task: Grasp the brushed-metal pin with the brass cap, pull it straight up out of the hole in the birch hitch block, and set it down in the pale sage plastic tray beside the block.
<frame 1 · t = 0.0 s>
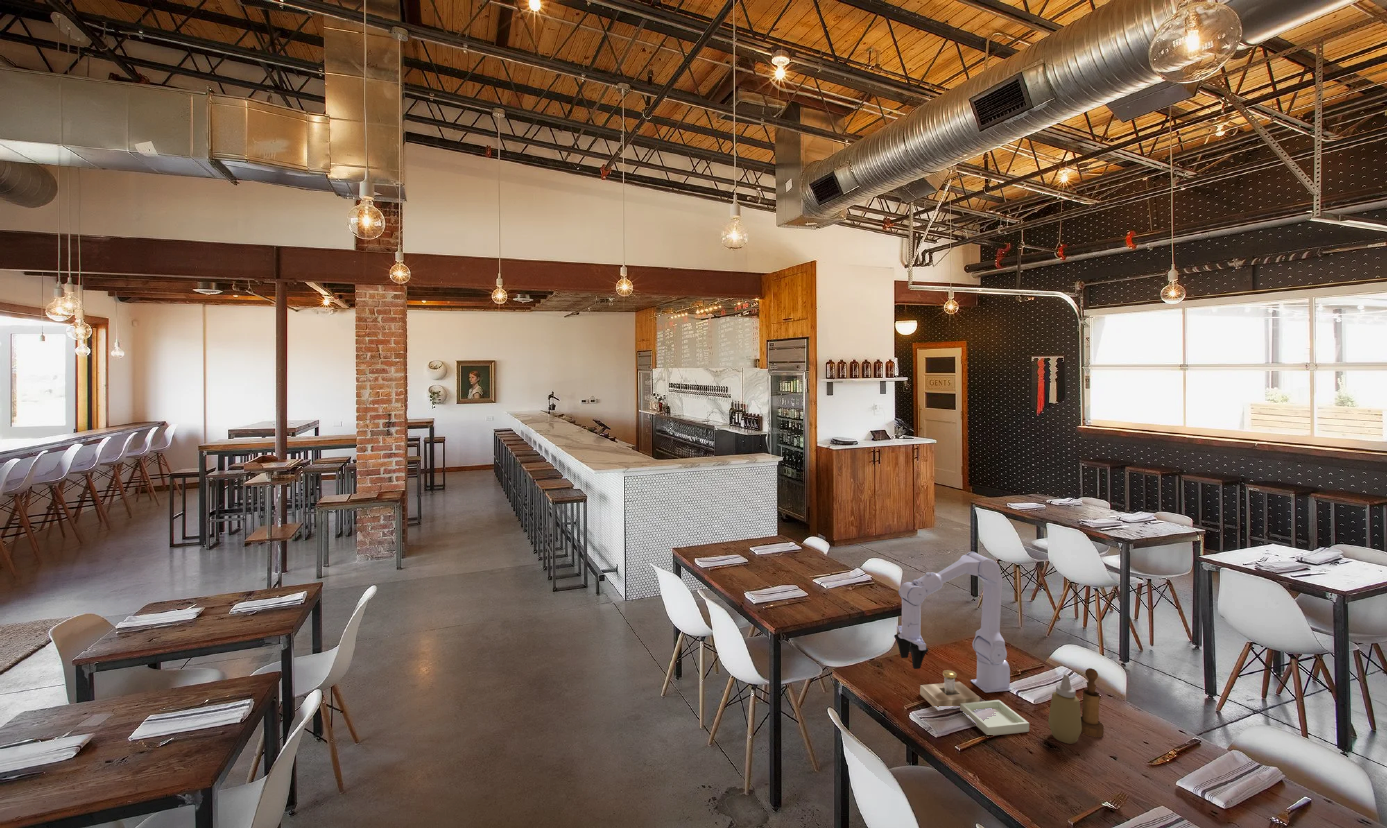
hand: (910, 662, 193), 10 cm above the table, fingers open, 7 cm apart
wooden pepper mill: (1089, 731, 173), on the table
pin: (949, 686, 189), in the hitch block
tray: (993, 721, 177), on the table
squeeze bottle: (1064, 738, 169), on the table
hitch block: (949, 700, 189), on the table
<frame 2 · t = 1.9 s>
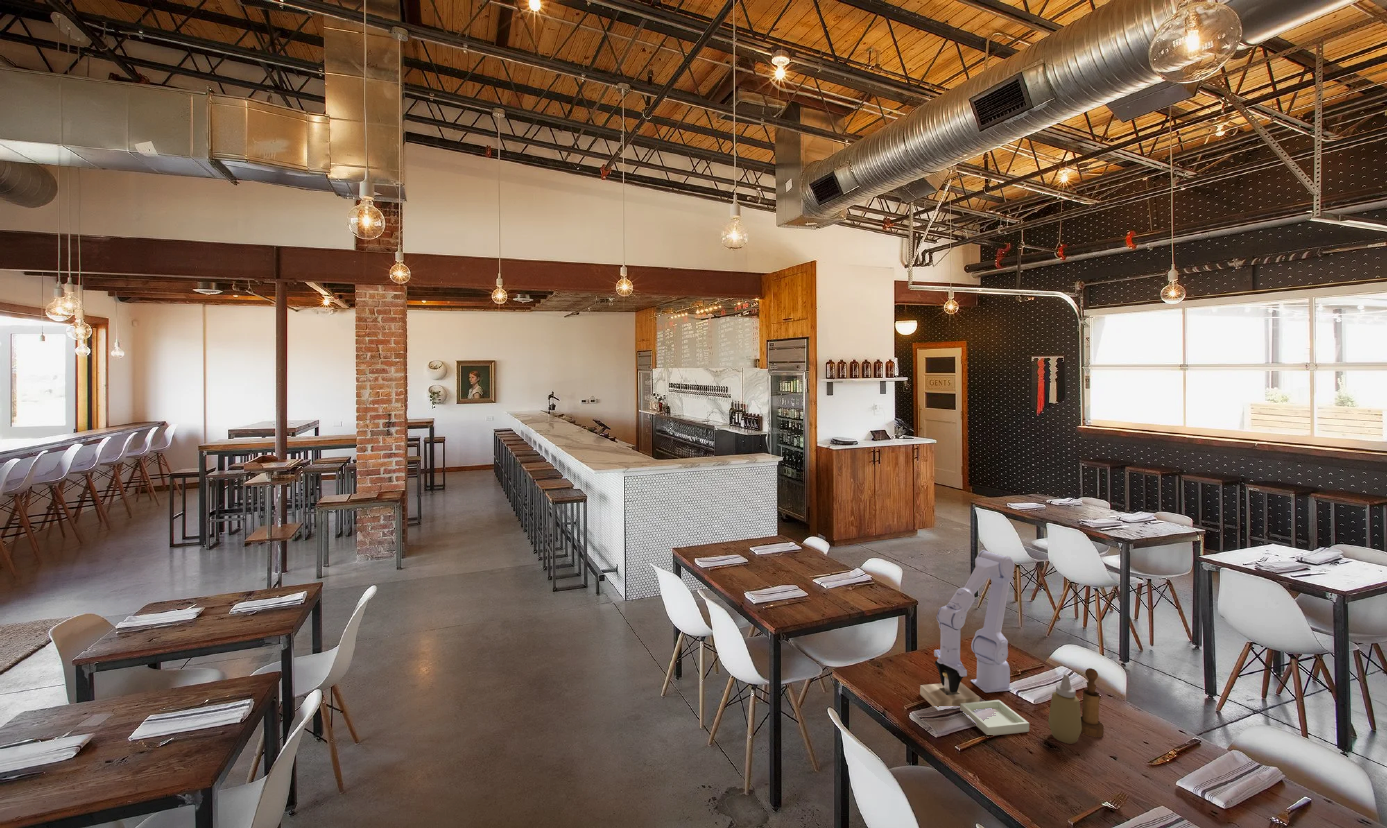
hand: (949, 688, 189), 4 cm above the table, fingers closed on pin, 4 cm apart
pin: (949, 686, 189), in the hitch block, touching gripper
everything else where it was.
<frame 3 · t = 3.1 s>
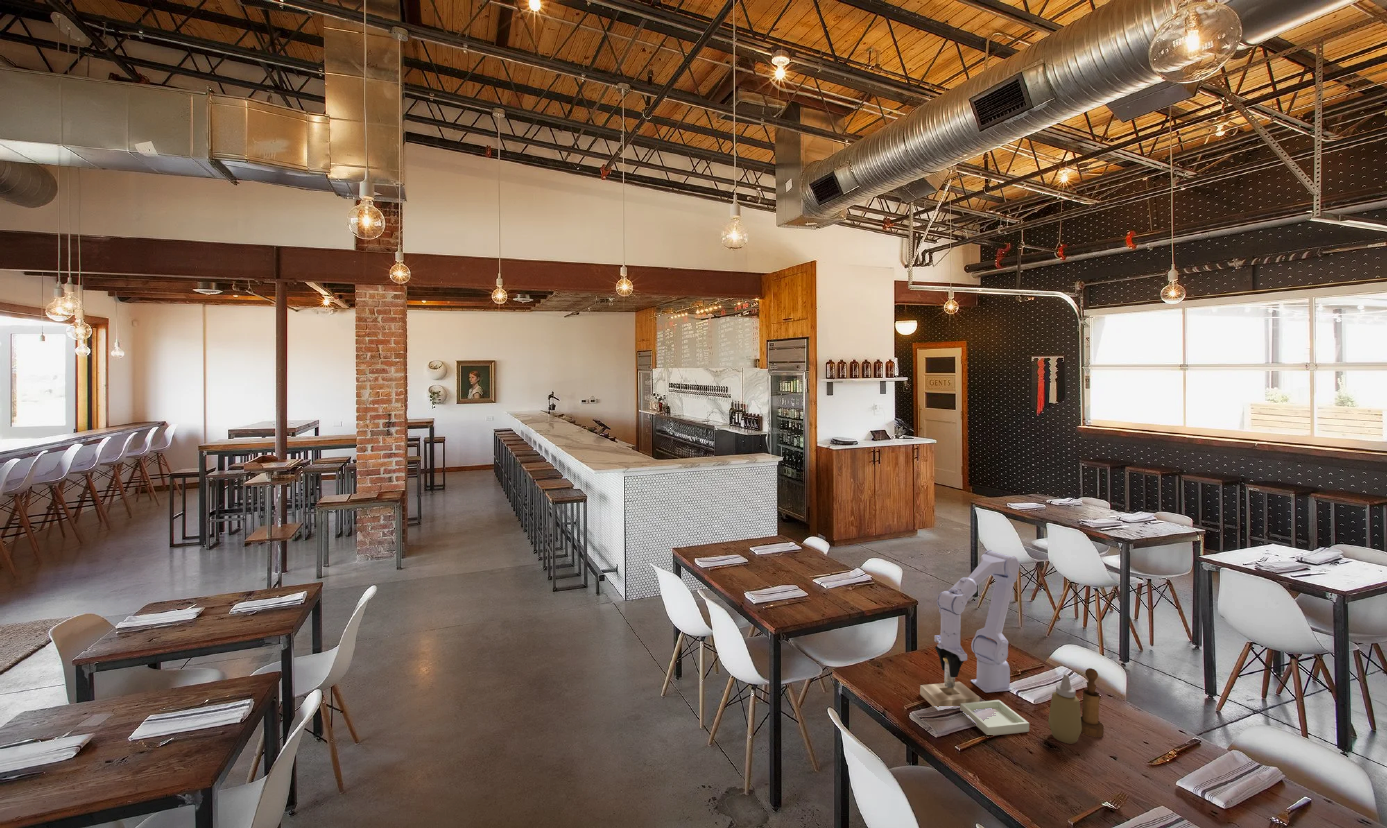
hand: (949, 673, 189), 9 cm above the table, fingers closed on pin, 4 cm apart
pin: (949, 671, 189), point 9 cm above the table, touching gripper
everything else where it was.
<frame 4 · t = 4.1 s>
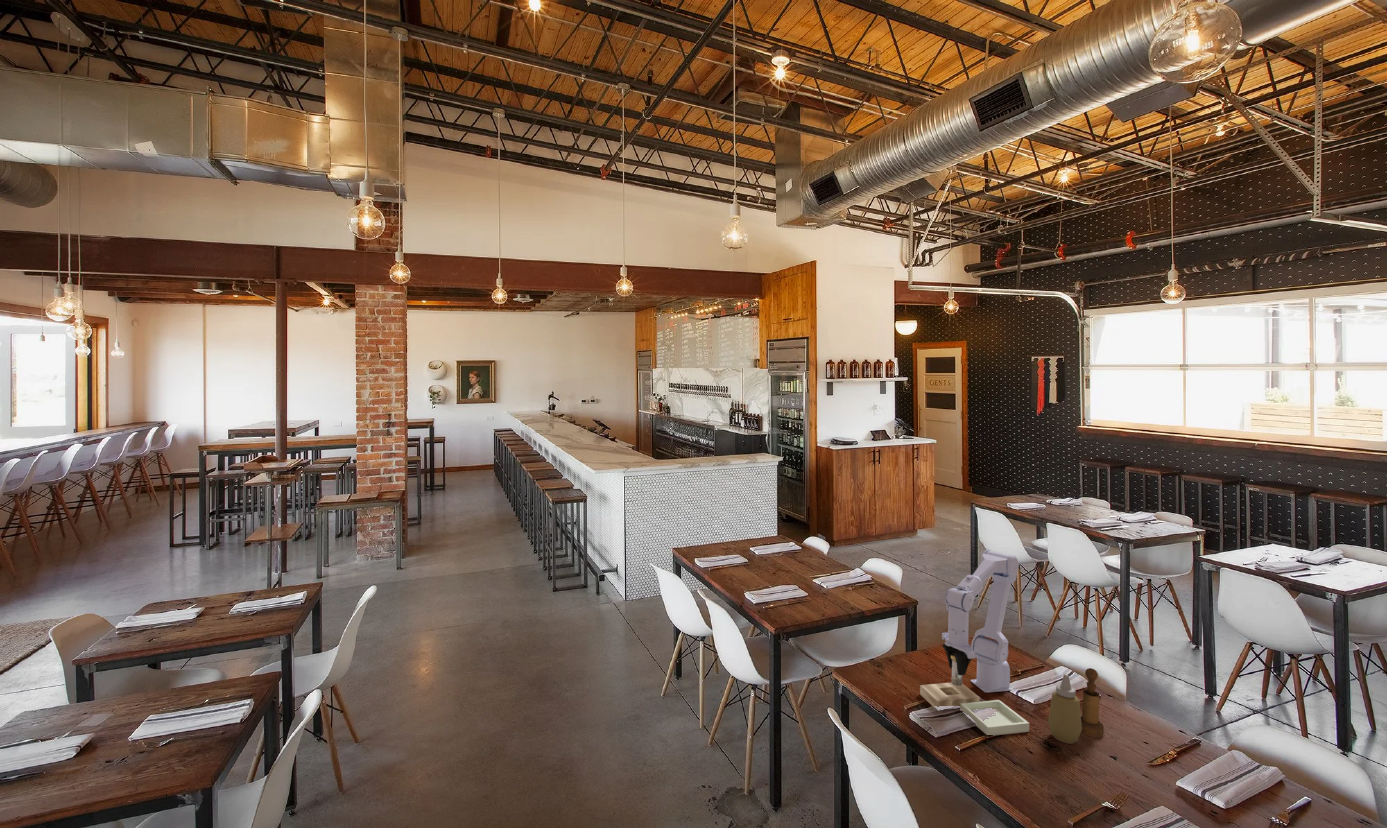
hand: (957, 671, 187), 10 cm above the table, fingers closed on pin, 4 cm apart
pin: (957, 669, 187), point 11 cm above the table, touching gripper
everything else where it was.
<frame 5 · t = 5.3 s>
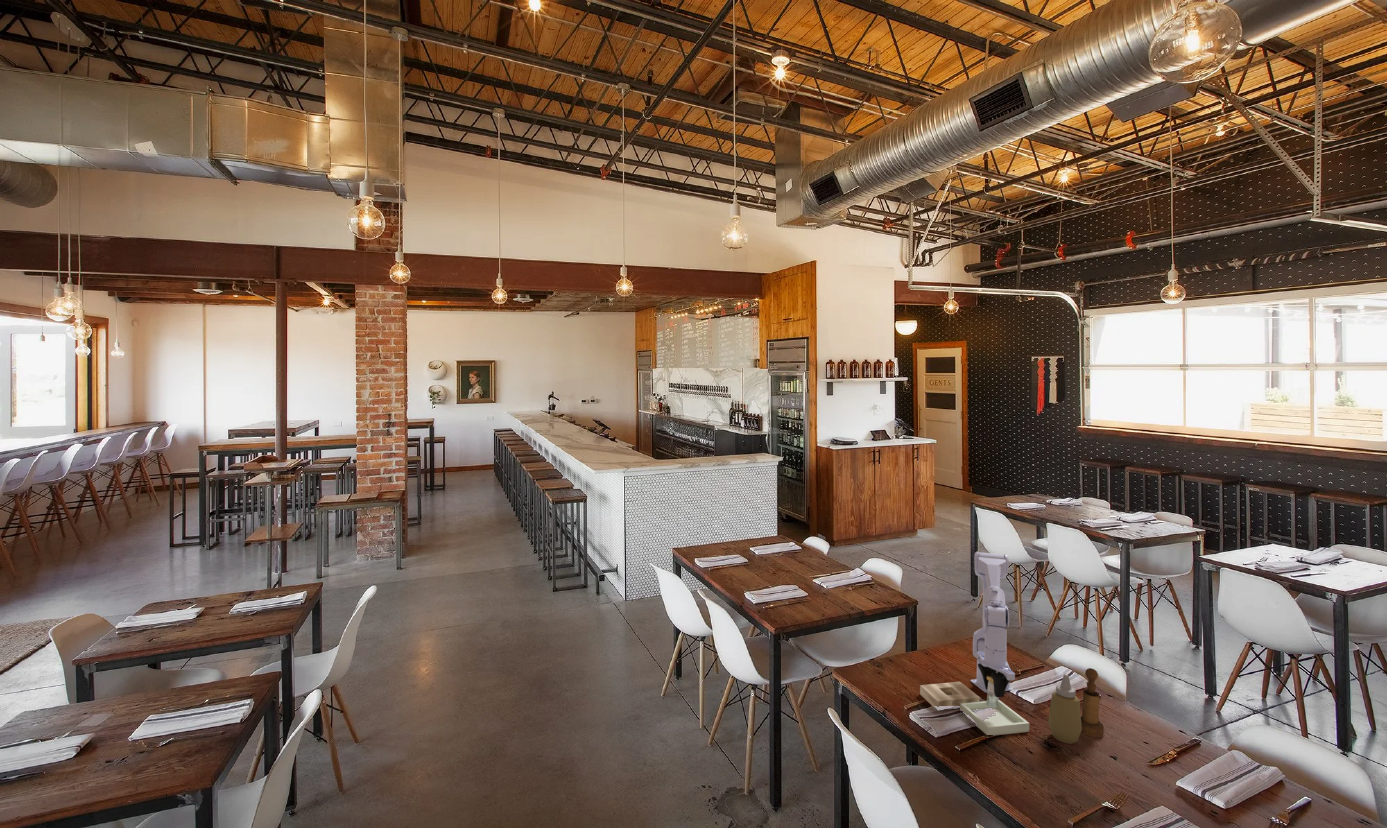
hand: (994, 692, 177), 9 cm above the table, fingers closed on pin, 4 cm apart
pin: (993, 691, 177), point 9 cm above the table, touching gripper
everything else where it was.
when the fingers open (5 cm above the table, at t = 6.4 s): pin stays where it is, resting on tray.
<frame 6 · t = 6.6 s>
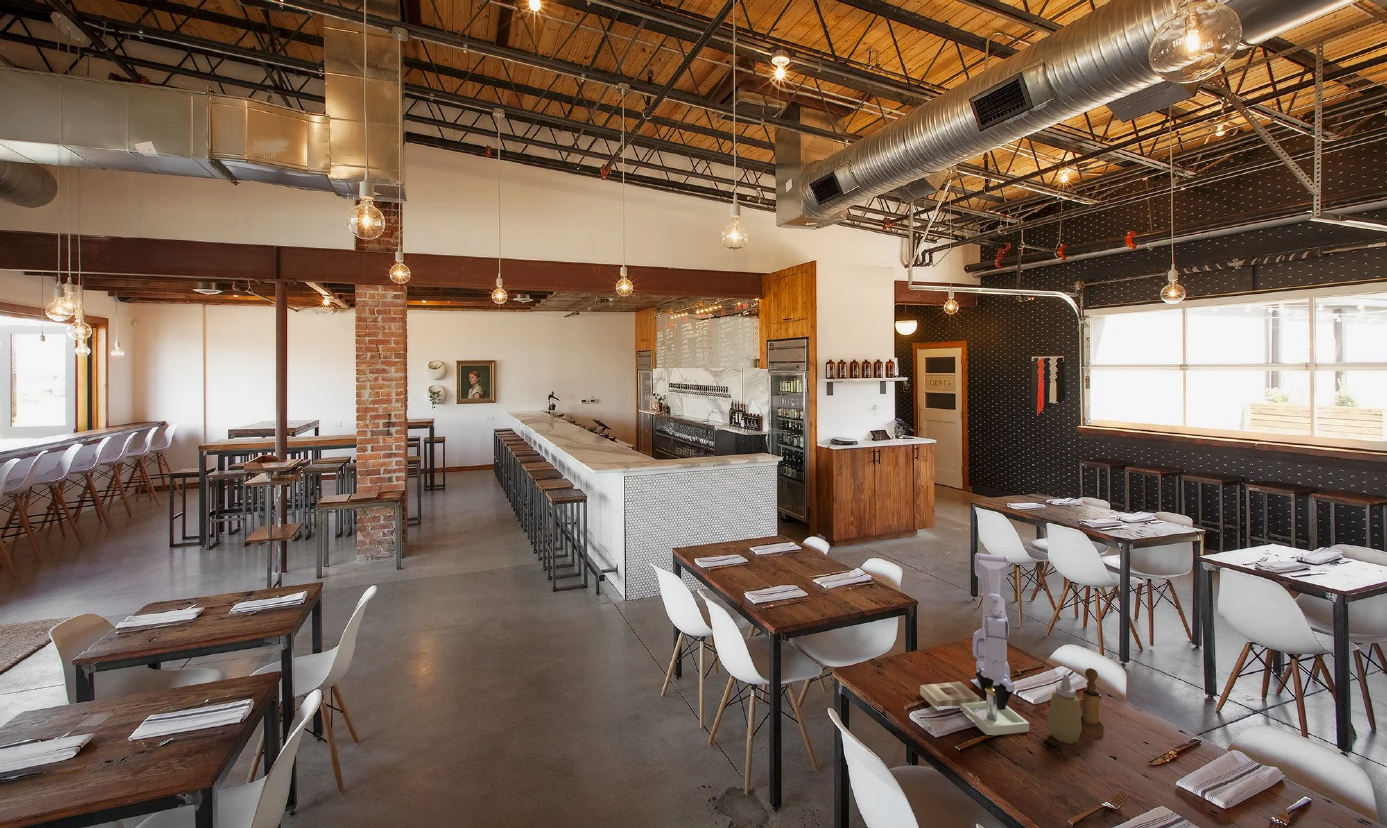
hand: (994, 703, 177), 5 cm above the table, fingers open, 6 cm apart
pin: (992, 703, 178), in the tray, point 5 cm above the table
everything else where it was.
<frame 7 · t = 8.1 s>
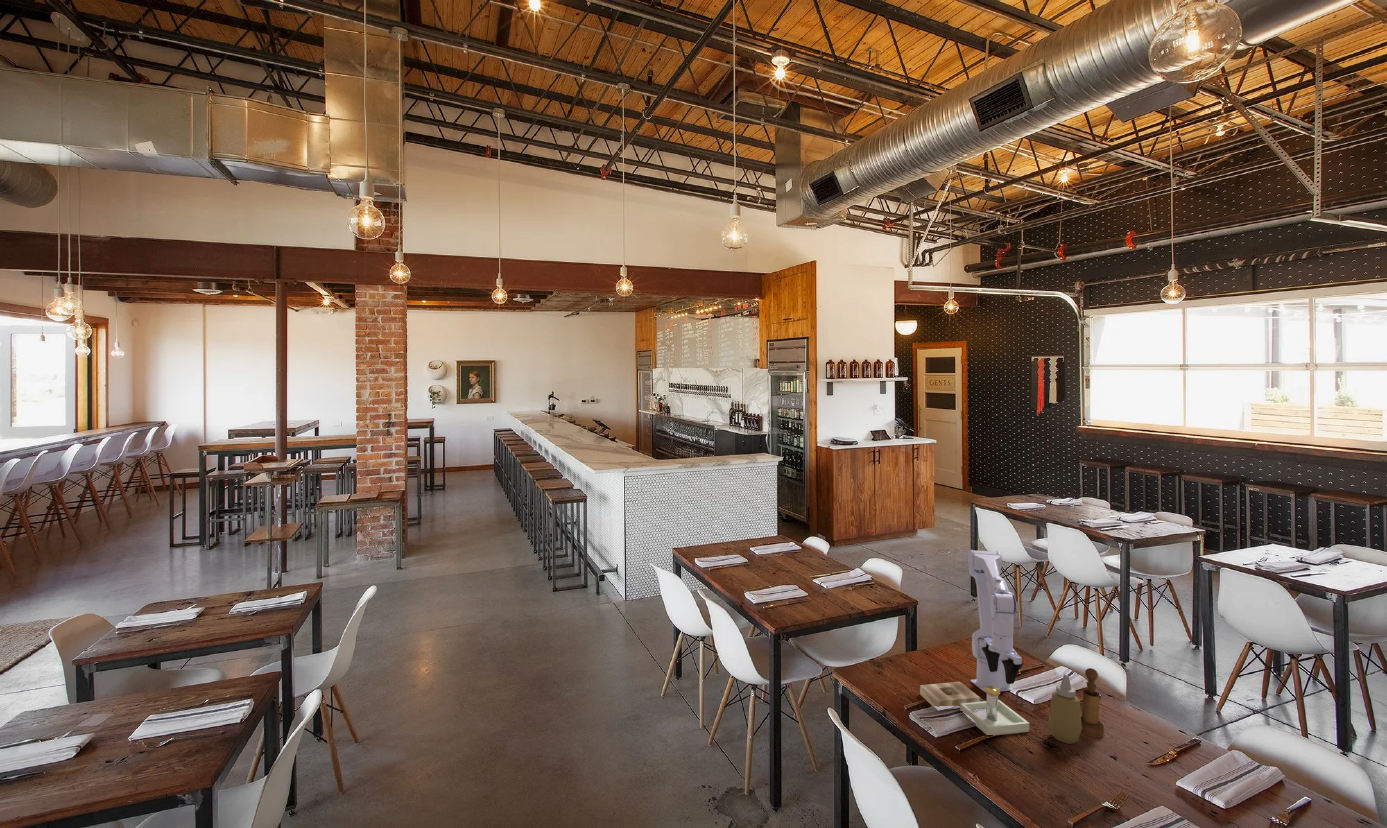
hand: (1001, 677, 183), 10 cm above the table, fingers open, 7 cm apart
nothing on the table moved.
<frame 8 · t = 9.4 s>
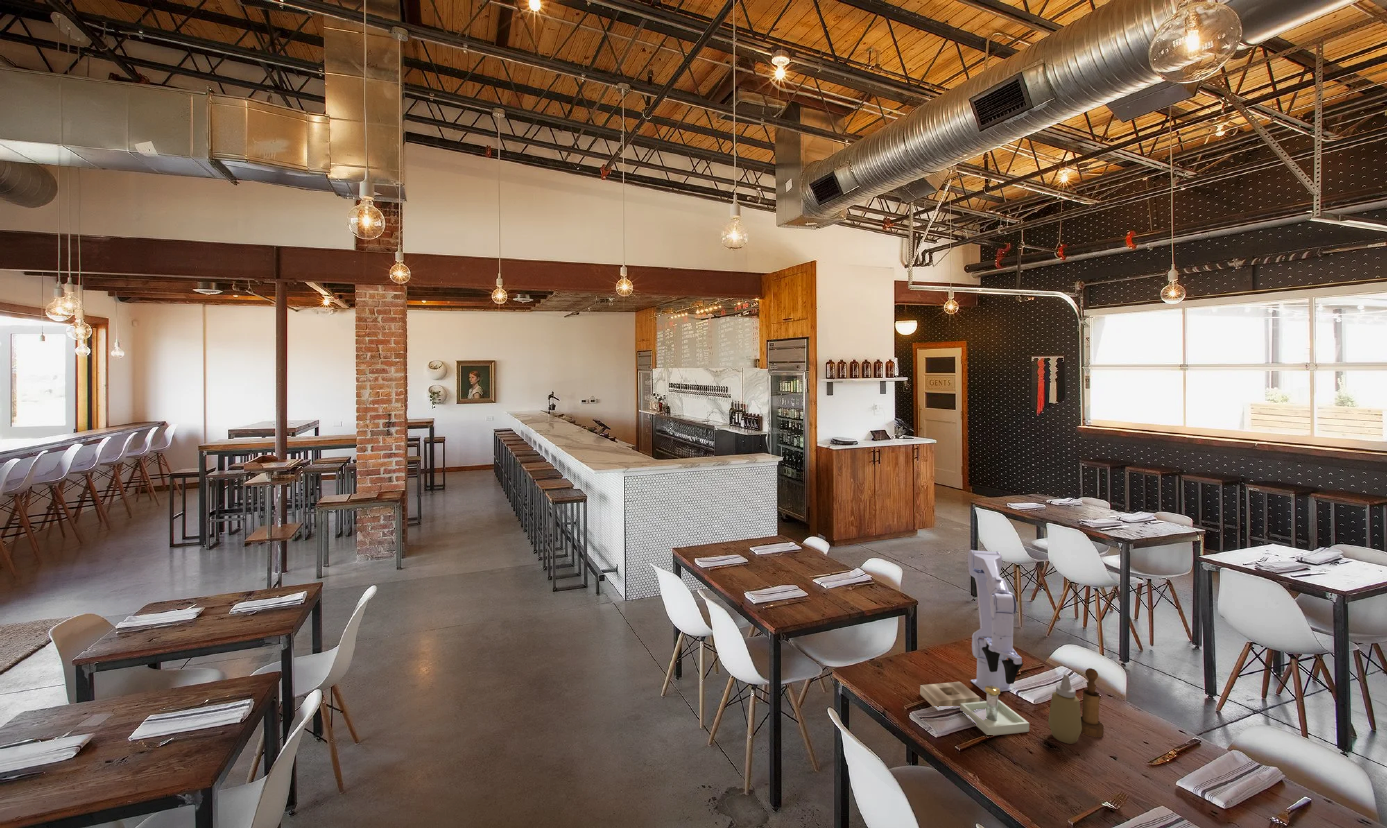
hand: (1001, 677, 183), 10 cm above the table, fingers open, 7 cm apart
nothing on the table moved.
at the end: pin inside the target area on the tray (0.6 cm from its centre), point 5.0 cm above the tray's base; pin touching tray; the gripper is holding nothing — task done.
